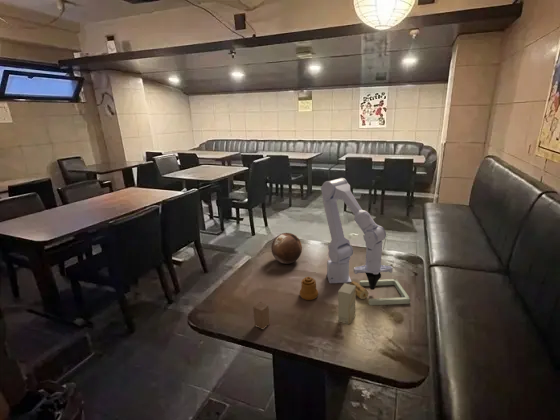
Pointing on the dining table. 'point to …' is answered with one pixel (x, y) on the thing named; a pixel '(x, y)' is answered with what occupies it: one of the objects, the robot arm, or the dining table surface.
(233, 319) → the dining table surface
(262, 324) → the wooden block
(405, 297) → the pale grey flat frame
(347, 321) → the skincare box
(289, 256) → the wooden sphere
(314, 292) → the ornamental finial
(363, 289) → the carved stone cylinder
